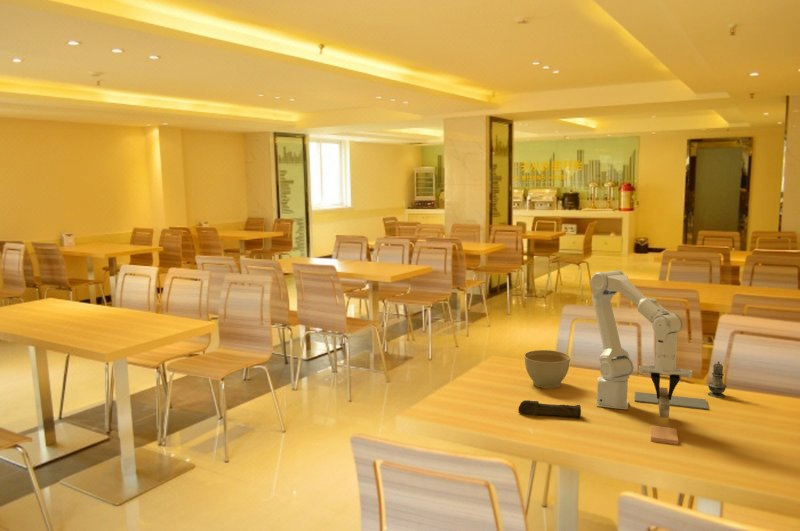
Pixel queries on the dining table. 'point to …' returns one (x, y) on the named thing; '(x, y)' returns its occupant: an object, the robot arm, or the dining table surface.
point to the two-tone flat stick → (663, 403)
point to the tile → (663, 435)
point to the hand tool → (548, 409)
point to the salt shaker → (717, 382)
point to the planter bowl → (547, 367)
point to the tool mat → (672, 400)
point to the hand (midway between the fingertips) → (663, 398)
